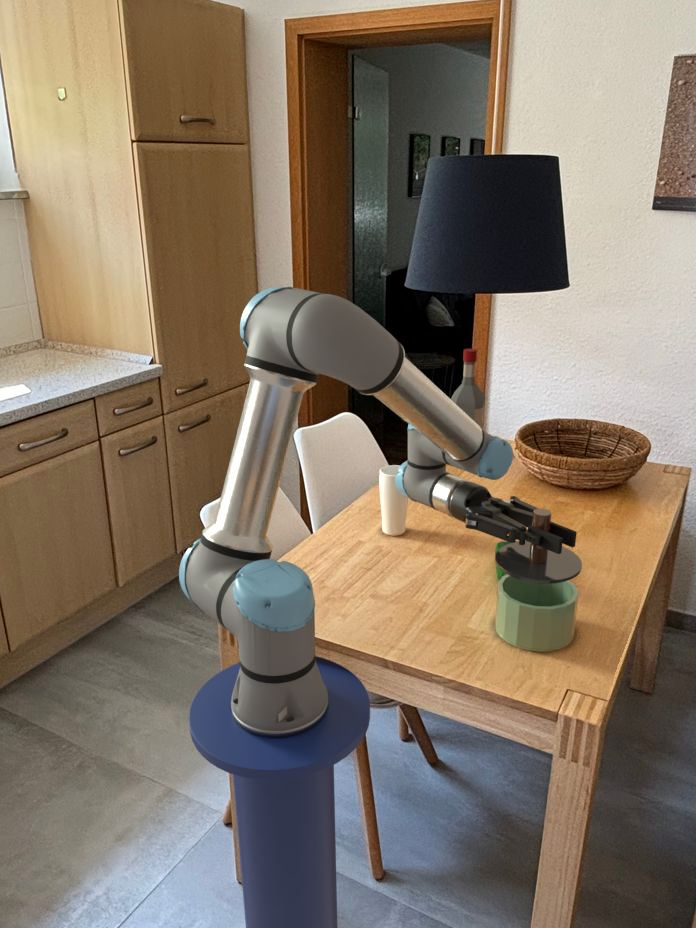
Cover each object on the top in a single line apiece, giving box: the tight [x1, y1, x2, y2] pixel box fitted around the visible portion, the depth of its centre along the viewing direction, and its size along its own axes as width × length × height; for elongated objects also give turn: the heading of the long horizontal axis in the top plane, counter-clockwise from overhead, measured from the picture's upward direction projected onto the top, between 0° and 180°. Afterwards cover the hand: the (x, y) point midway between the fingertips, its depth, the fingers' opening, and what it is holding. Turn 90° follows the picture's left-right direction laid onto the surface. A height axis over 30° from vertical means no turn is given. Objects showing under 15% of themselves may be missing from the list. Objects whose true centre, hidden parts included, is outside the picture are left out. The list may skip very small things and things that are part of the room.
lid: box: [494, 508, 583, 584], centre depth 131 cm, size 15×15×10 cm
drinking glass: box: [378, 464, 409, 537], centre depth 173 cm, size 7×7×15 cm
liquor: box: [450, 348, 486, 430], centre depth 219 cm, size 9×9×30 cm
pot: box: [494, 575, 580, 653], centre depth 136 cm, size 14×14×8 cm
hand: (567, 542), depth 127 cm, fingers closed on lid, 3 cm apart
